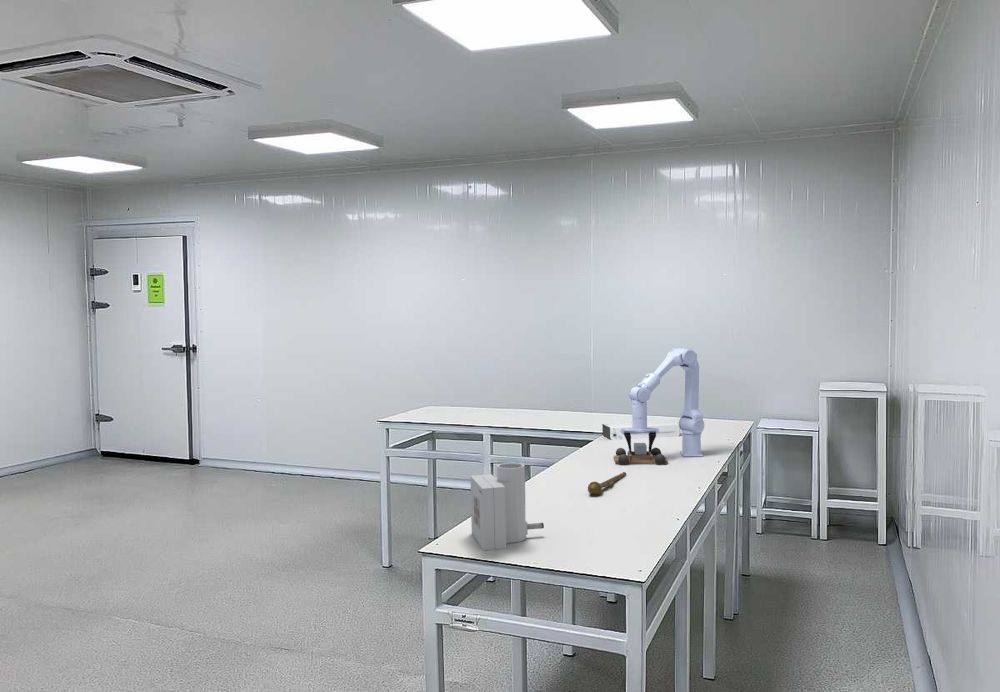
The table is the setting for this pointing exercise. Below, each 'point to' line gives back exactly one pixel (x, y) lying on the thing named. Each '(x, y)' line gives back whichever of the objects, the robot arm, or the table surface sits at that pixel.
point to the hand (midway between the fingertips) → (640, 451)
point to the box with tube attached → (500, 507)
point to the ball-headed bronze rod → (603, 484)
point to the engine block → (640, 449)
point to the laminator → (664, 431)
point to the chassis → (640, 457)
